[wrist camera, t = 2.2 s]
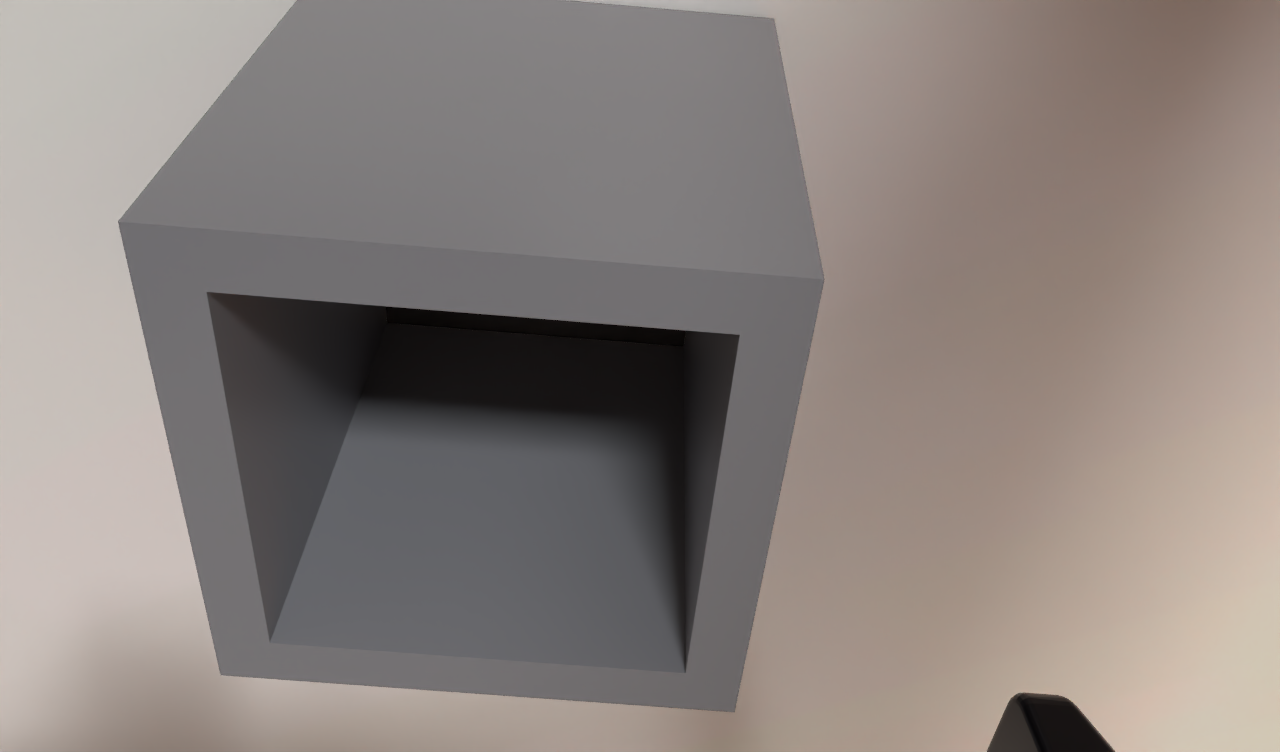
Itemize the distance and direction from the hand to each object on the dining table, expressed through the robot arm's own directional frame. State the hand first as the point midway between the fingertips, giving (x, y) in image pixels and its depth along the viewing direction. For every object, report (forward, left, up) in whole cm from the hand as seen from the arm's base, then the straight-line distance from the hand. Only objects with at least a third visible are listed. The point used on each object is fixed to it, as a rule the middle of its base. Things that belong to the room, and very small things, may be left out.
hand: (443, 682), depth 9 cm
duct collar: (0, 0, -8) cm, 8 cm away
